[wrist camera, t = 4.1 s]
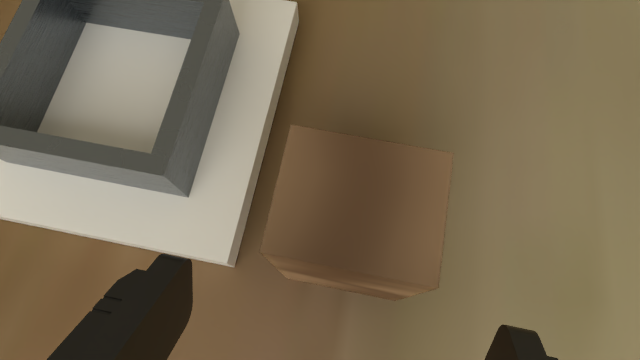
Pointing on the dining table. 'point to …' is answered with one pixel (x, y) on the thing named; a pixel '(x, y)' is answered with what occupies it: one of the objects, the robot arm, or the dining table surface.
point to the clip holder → (141, 118)
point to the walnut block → (359, 214)
